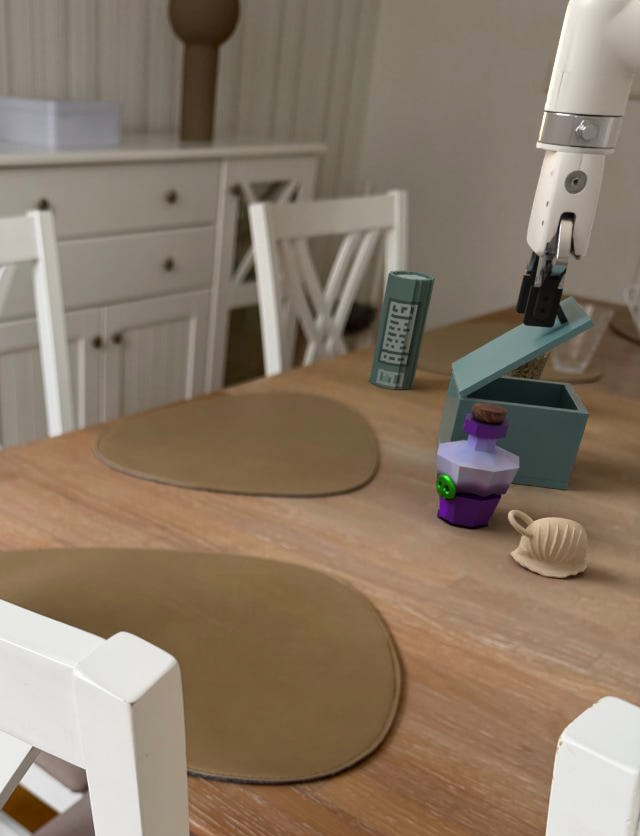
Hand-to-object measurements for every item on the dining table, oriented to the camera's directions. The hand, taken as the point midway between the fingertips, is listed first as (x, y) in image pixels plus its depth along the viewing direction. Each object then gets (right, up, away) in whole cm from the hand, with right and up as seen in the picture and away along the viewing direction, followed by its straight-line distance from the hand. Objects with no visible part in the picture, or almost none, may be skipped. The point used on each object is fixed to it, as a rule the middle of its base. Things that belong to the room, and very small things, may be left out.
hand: (534, 317), depth 107 cm
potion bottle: (-9, -23, -5) cm, 25 cm away
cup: (+8, -3, +30) cm, 31 cm away
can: (-7, +2, +35) cm, 36 cm away
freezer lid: (-1, -3, +2) cm, 4 cm away
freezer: (-1, -15, +9) cm, 17 cm away
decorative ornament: (-5, -29, -14) cm, 32 cm away
